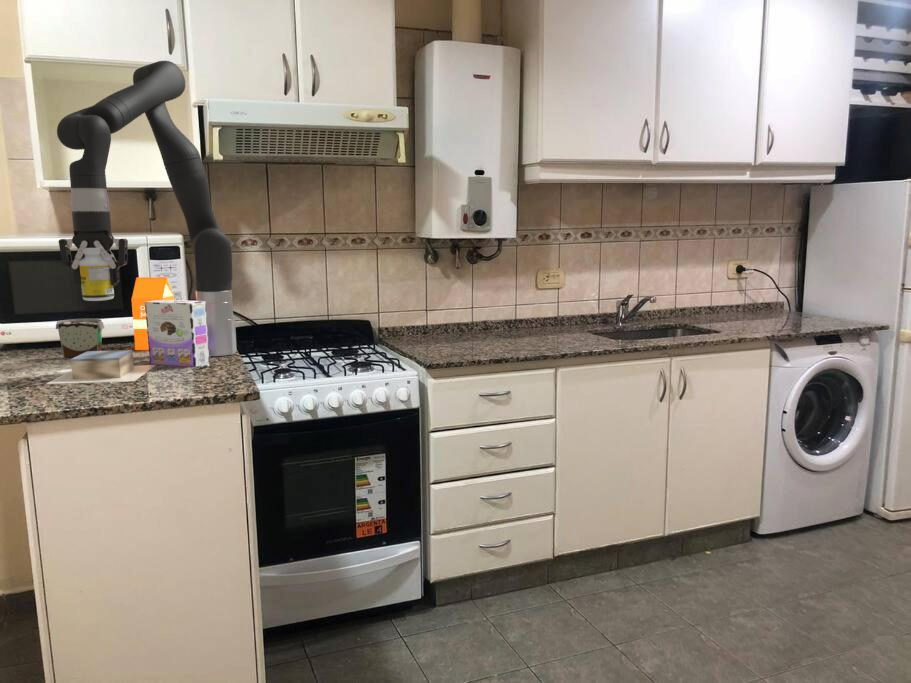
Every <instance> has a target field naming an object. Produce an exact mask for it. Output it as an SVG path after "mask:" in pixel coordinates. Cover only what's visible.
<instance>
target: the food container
mask: <svg viewBox="0 0 911 683" xmlns="http://www.w3.org/2000/svg"><path fill="white" fill-rule="evenodd" d="M55 329H56V330H58V336H59V341H60V345H61V351H62V355H63V356H62V357H63V359H64V360H71V359H72V358H74V357H76V356H79V355H81V354H83V353H85V352H87V351H102V340H103V339H102V338H103V337H102V335H103V334H102V333H103V331H102V330H104V329H105V325H104V322H103V321H102V319H99V318H73V319H63V320H57V321H56V324H55Z"/></svg>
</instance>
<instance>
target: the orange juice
mask: <svg viewBox="0 0 911 683" xmlns="http://www.w3.org/2000/svg"><path fill="white" fill-rule="evenodd" d="M155 300H175V296H174V294H173V290H172V288H171V285H170V282H169V280H168V277H162V276H161V277H157V276H156V277H148V276H146V277H140V276H139V277H136V278H135V282H134V287H133V292H132V296H131V307H132V308H131V309H132V326H133V336H134V349H135V351H149V346H148V335H147V323H146V311H145V302H148V301H155Z"/></svg>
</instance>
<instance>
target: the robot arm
mask: <svg viewBox="0 0 911 683" xmlns="http://www.w3.org/2000/svg"><path fill="white" fill-rule="evenodd" d="M132 75H133V76H132V82H133V84H132V85H129V86H127V87H125V88H123V89H120V90H118V91H116V92H113V93H111V94H110V95H108V96H106V97H104V98H103V99H101V100H99V101H98V102H97V103H95V104H93V105H91V106H88V107H86V108H85V107H84V108H82V109H80V110H77V111H74V112H72V113H70V114H67V115H65V116H64V117H63V118H62V119H60V121H59V122H58V124H57V129H56V135H57V139H58V140H59V142H60V143H61V144H62V145H63V146H65V147H66V148H68V149H71V150H77V151H78V150H83V152H82V153H83V154H82V157H81V158H80V159H77V160H75V161H72V162H71V163H70V165H69V166H68V167H69V168H68V169H69V180H70V181H69V182H70V188H71V189H70V210H71V219H72V220H71V221H72V229H73V236H72V238H62V239H61V238H60V239H59V240H58V246H59V251H60V252H59V253H60V257H61V262H62V265H63V266H64V267H67V268H71V269H72V273H73V281H74V284H77V287H81V276H80V266H79V263H80V261H81V260H82V259H84V257H85V256H84V255H85V254H84V248H100V253H101V255H102V256H103V258H104V259H105V260H106V261H107V262H108V264H109V266H110V267H111V269H110V279H111V286H113V287H115V286H118V283H119V282H120V281H121V280H120V279H121V278H120V268H121V267H124V266H126V265H128V251H129V249H128V247H129V245H128V244H129V242H128V239H127V238H124V237H123V238H115V237H114V236H113V234H112V221H111V220H112V219H111V211H110V199H109V195H108V190H107V187H108V186H107V175H106V168H107V163H108V157H109V154H110V148H111V144H112V143H111V142H112V135H113V134H115V133H118V132H119V131H120V130H122V129H123V128H125V127H126V126H127V125H129V124H131V123H132V122H133V121H134V120H136V119H137V118H139V117H141V116H142V115H143V114H145V117H146V119H147V120H148V123H149V126H150V128H151V130H152V133H153V136H154V139H155V141H156V144H157V147H158V150H159V152H160V156H161V159H162V162H163V163H162V164H163V166H164V169H165V171H166V175H167V177H168V180H169V183H170V185H171V188H172V190H173V193H174V195H175V198H176V200H177V203H178V206H179V208H180V209H181V212H182V213H183V214H182V215H183V216H184V220H185V222H186V226H187V227H186V228H187V231H188V235H189V241H190V245H191V249H192V250H191V251H192V253H193V255H194V266H195V279H194V280H195V281H194V287H195V301H206V317H207V334H208V350H209V357H222V356H223V357H224V356H233V355H234V354H235V353H236V352H237V332H236V318H235V316H234V306H233V288H232V287H233V286H232V285H233V283H232V282H233V253H232V245H231V241H230V239H229V238H228V236H227V235H226V234H225V233H223V232H222V231H221V229H220V226H219V224H218V222H217V220H216V217H215V215H214V211H213V208H212V202H211V195H210V188H209V182H208V176H207V173H206V170H205V167H204V163H203V160H202V158H201V155H200V152H199V150H198V148H197V147H196V146H195V145H194V143H193V142H191V140H190V139H189V138H188V137H187V136H186V135H185V134H184V133H183V132H182V131H181V130H180V129H179V128H178V127H177V125H175V123H174V121H173V119H172V118H171V115H170V113H169V111H168V108H167V107H168V106H167V104H166V103H167V102H169V101H173V100H175V99H178V98H179V97H180V96H182V95H183V93H184V92H185V91H186V79H185V75H184V73H183V71H182V70H181V68H180V67H179V66H178V65H177V64H176V63H174V62H172V61H170V60H158V61H155V62H152V63H148V64H146V65H144V66H141V67H139V68H136V69H135V70H134V72H133V74H132ZM114 244H115V248H116V249H118V256H117V257H118V259H117V260H116V257H115V255H114V253H113V252H112V251H111V248H112V246H113V245H114ZM73 246H75V247H76V249H78V250H77V252H76V254H75V256H74V261H73V259H72V252H71V249H72V247H73ZM102 250H103V251H102Z"/></svg>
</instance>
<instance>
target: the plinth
mask: <svg viewBox="0 0 911 683" xmlns="http://www.w3.org/2000/svg"><path fill="white" fill-rule="evenodd" d="M133 353H134V352H133V350H132V349H125V350H123V349H122V350H121V349H120V350H119V349H118V350H101V351H87V352H85V353H83V354H81V355H79V356H76V357H74V358H72V359H70V364H71V370H72V377H73V379H98V378H121V377H123V376H124V375H126V374H127V373H128V372H130V371H131V370H133V369H134V366H135V365H134V354H133Z"/></svg>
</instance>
